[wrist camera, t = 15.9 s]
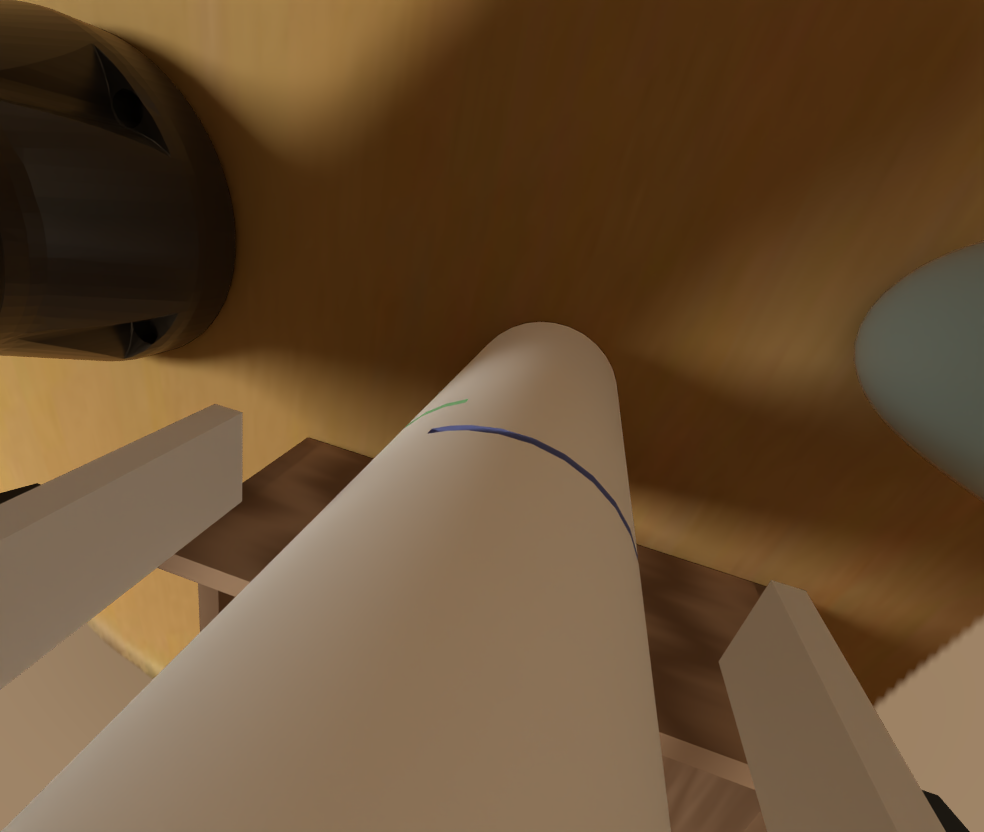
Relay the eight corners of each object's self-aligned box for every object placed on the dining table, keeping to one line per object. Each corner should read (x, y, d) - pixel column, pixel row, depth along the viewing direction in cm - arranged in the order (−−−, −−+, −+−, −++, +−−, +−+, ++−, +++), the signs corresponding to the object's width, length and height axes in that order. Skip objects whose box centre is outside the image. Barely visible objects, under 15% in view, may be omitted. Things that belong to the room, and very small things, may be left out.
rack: (291, 643, 33) (175, 799, 24) (307, 437, 26) (152, 546, 17) (650, 779, 30) (673, 1013, 21) (773, 589, 23) (883, 814, 14)
